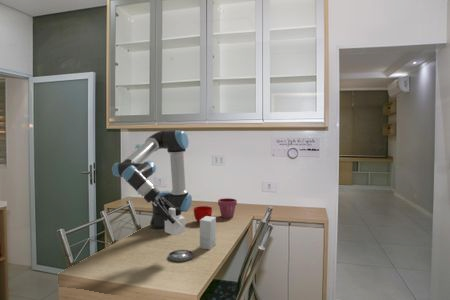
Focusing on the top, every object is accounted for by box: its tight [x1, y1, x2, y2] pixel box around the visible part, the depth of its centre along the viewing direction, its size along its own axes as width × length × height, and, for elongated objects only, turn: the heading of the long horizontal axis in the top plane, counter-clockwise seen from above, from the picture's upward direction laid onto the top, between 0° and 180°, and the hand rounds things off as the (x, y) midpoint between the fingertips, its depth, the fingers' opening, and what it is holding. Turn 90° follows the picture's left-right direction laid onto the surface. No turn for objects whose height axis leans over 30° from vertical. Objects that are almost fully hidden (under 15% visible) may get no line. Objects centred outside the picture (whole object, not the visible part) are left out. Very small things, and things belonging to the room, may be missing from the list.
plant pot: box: [217, 197, 238, 219], centre depth 208 cm, size 14×14×13 cm
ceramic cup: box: [193, 205, 213, 224], centre depth 192 cm, size 13×17×10 cm
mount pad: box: [168, 249, 194, 263], centre depth 135 cm, size 12×12×1 cm
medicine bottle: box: [164, 207, 186, 236], centre depth 133 cm, size 7×7×12 cm
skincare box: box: [199, 216, 217, 250], centre depth 148 cm, size 8×7×16 cm
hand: (181, 223), depth 134 cm, fingers closed on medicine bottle, 10 cm apart
